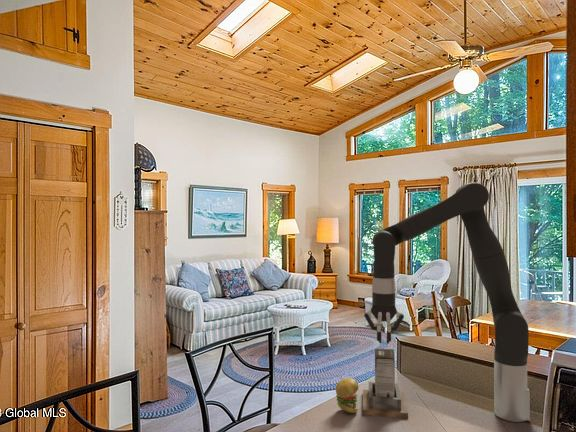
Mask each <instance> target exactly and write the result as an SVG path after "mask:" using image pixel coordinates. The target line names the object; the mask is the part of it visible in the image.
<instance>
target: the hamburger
mask: <svg viewBox="0 0 576 432" xmlns="http://www.w3.org/2000/svg"><path fill="white" fill-rule="evenodd" d="M339 377H340V379H341V380H340V381H338V383H337V384H336V386H335V394H336V401H337V405H338V407H339V409H341V410H343V411H344V412H346V413H349V414H356V413H357V412H358V410H359V408H358V406H357V403H358V399H357V398H358V394H357V391H358V390H359V384H358V382H357V380H355V378H351V377H346V378H345V377H344V378H343V377H342V376H341V375H340V376H339Z"/></svg>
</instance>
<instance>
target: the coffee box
mask: <svg viewBox="0 0 576 432" xmlns="http://www.w3.org/2000/svg"><path fill="white" fill-rule="evenodd" d="M395 357H396V356H395V350H394V349H390V348H374V382H375V396H378V397H392V398H395V383H396V382H395V381H396V380H395V379H396V375H395V374H396V372H395V371H396V365H395V364H396V361H395V360H396V359H395Z"/></svg>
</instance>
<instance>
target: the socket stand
mask: <svg viewBox="0 0 576 432" xmlns="http://www.w3.org/2000/svg"><path fill="white" fill-rule="evenodd" d="M362 415H364V416H375V417H377V416H378V417H391V418H399V419H400V418H402V419H409V410H408V406H407V402H406V398H405V393H404V392H403V391H400V387H399V383H396V382H395V398H392V397H378V396H375V381H368V389H362Z"/></svg>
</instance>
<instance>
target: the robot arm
mask: <svg viewBox="0 0 576 432" xmlns="http://www.w3.org/2000/svg"><path fill="white" fill-rule="evenodd" d="M489 200H490V193H489V190H488V188H487V187H486V186H485V185H484V184H482V183H480V182H479V183H478V182H468V183H466V184H465V183H464V184H463V185H461V186H460V187H458V188H457V189H456V190H455V193H454V194H451V195H450V196H449V197H447V198H446V199H444V200H443V201H442V200H441V202H438V203H436V204H434V205H432V206H429V207H427V208H425V209H422V210H420V211H418V212H416V213H414V214H412V215H410V216H408V217H406V218H404V219H402V220H401V221H398V222H397V223H395V224H393V225H390V226H387V227H385V228H383V229H380V230H379V231H377V232H376V233H374V234H373V237H372V241H371V242H372V247H373V265H372V283H371V285H372V286H371V287H372V288H371V290H372V291H371V295H372V296H371V297H372V298H371V300H372V301H371V302H372V303H371V304H372V305H371V308H370V310H368V311H366V312H365V311H364V314H363V315H364V318H365V320H366V322H367V323H368V325H369V327H370V328H371V330H373V331H375V332H376V341H377V342H379V344H382V322H385V323H386V344H390V342H392V333H393V332H394V331H395V332H396V331H398V328H399V326H400V325H401V323H402V321H403V320H404V318H405V315H404V313H402V312H399V311H398V309H397V307H396V291H397V290H396V281H395V258H396V257H395V256H396V255H395V254H396V246H398V245H399V244H402V243H405V242H407V241H410V240H411V241H412V240H413V239H416V238H417V237H419V236H421V235H423V234H425V233H427V232H429V231H431V230H432V229H434V228H436V227H438V226H439V225H442V224H443V223H445V222H448V221H450V220H451V219H454V218H456V217H458V216H459V217H460V218H461V220H462V222H463V225H464V229H465V231H466V236H467V240H468V244H469V248H470V252H471V254H472V258H473V261H474V265H475V269H476V271H477V273H478V276H479V279H480V281H481V283H482V285H483V288H484V289H485V292H486V294H487V296H488V300H489V303H490V307H491V313H492V314H491V315H492V319H493V326H494V350H493V356H494V357H493V358H494V359H493V360H494V361H493V362H494V363H493V372H494V374H493V376H494V378H493V382H494V383H493V386H494V388H493V392H494V393H493V395H494V397H493V398H494V401H493V402H494V403H493V404H494V405H493V408H494V412H493V413H494V414H495V416H497V417H498V418H500V419H501V420H503V421H504V420H505V421H507V422H508V421H509V422H512V423H523V422H527V421H529V422H530V417H531V414H530V412H531V408H530V407H531V406H530V404H531V401H530V400H531V399H530V398H531V396H530V395H531V393H530V389H529V387H528V357H529V334H530V333H529V325H528V322H527V320H526V319H525V317H524V316H523V314H522V312H521V310H520V308H519V305H518V304H517V301H516V298H515V296H514V293H513V289H512V281H511V276H510V269H509V265H508V261H507V259H506V256H505V252H504V250H503V247H502V245H501V243H500V241H499V239H498V237H497V236H496V234H495V232H494V230H493V229H492V227H491V226H490V224H489V221H488V219H487V214H486V211H485V206H486V205H487V204H488V201H489ZM372 315H373V316H374V318H375V319H376V325H375V323H374V322H373V319H372ZM394 317H395V318H396V320H395V322H394V323H393V325H392V323H391V321H392V320H393V319H394Z"/></svg>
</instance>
